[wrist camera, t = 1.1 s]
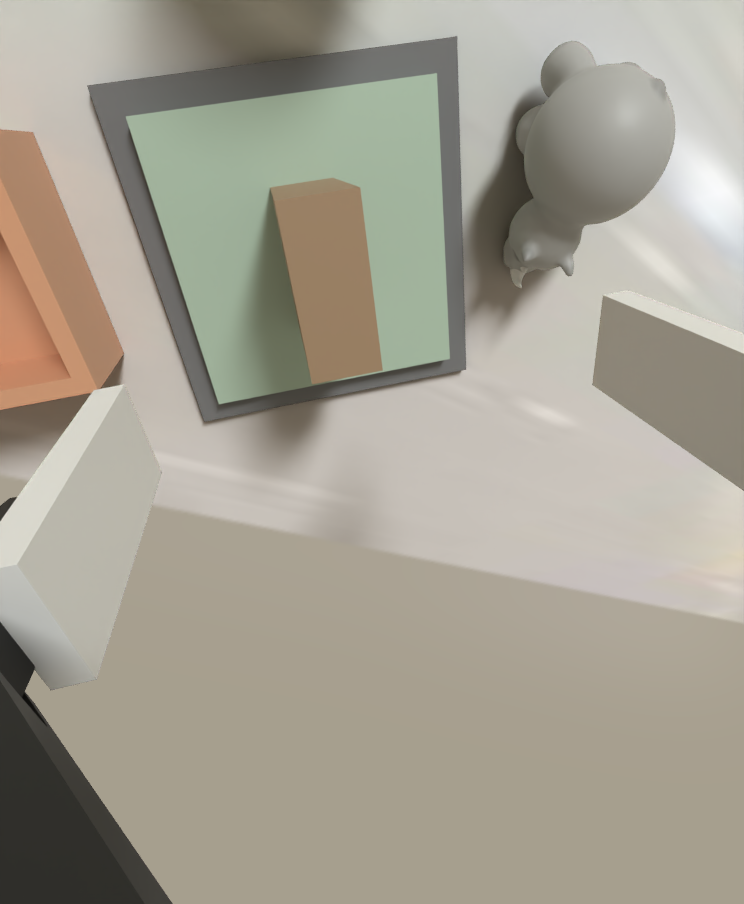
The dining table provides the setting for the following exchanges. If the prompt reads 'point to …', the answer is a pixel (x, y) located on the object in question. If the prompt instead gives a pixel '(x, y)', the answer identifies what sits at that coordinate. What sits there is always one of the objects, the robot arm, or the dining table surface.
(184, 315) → the mat
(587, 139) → the round bodied animal figurine
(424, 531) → the dining table surface
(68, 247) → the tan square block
